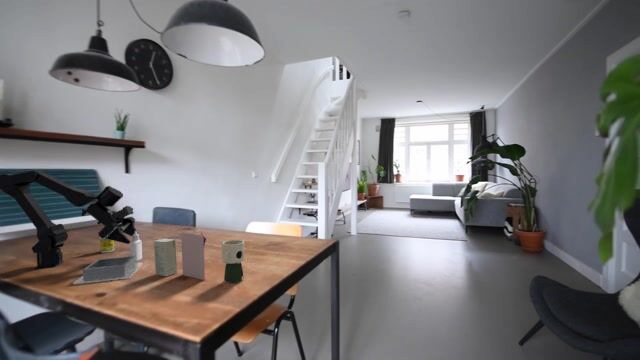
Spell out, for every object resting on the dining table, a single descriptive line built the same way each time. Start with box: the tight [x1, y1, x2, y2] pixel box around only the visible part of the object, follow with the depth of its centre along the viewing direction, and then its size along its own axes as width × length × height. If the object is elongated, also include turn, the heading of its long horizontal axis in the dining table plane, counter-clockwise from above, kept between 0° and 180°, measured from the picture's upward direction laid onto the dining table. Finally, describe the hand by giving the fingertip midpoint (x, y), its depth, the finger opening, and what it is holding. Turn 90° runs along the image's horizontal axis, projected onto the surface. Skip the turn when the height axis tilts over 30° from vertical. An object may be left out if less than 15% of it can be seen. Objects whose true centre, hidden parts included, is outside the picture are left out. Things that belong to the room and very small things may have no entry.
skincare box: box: [153, 238, 178, 277], centre depth 102 cm, size 6×4×12 cm
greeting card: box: [181, 229, 207, 281], centre depth 99 cm, size 11×7×15 cm, turn 26°
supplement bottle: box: [99, 236, 115, 254], centre depth 132 cm, size 5×5×10 cm
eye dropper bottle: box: [129, 230, 143, 263], centre depth 118 cm, size 4×6×12 cm
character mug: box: [221, 239, 246, 283], centre depth 95 cm, size 11×7×13 cm, turn 171°
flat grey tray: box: [72, 255, 144, 286], centre depth 103 cm, size 16×16×4 cm
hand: (134, 240), depth 118 cm, fingers open, 9 cm apart
